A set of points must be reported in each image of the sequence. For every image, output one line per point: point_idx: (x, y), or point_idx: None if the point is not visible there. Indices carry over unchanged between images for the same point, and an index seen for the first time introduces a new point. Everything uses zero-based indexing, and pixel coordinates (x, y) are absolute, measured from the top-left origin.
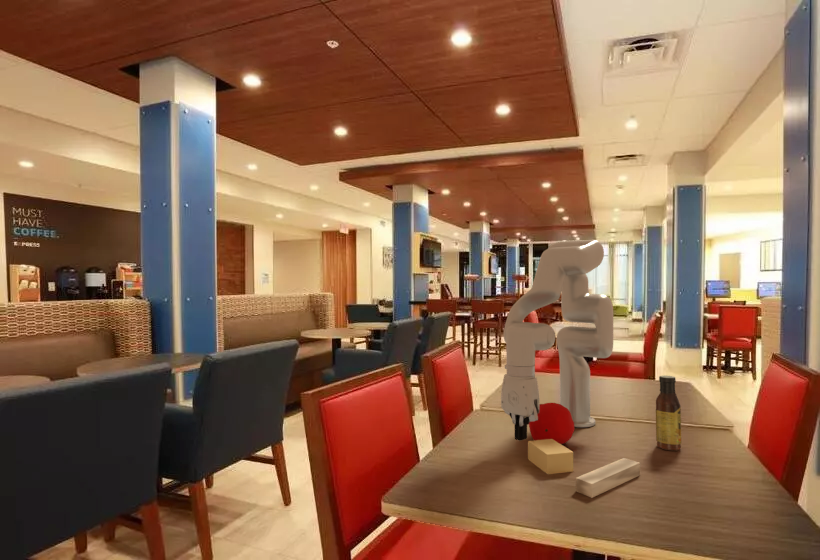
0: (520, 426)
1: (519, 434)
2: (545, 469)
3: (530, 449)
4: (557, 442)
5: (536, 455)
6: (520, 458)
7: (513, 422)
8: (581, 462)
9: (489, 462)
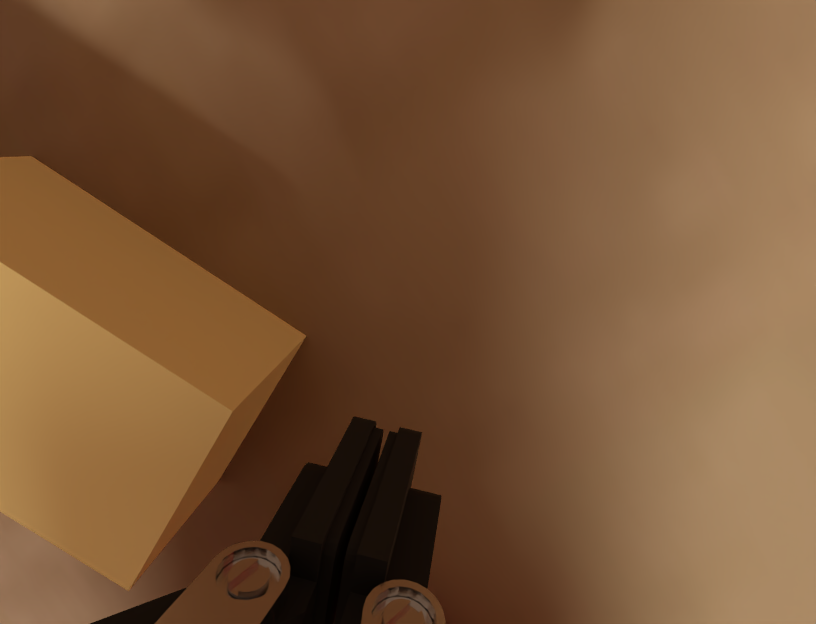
0: (294, 554)
1: (332, 458)
2: (38, 176)
3: (219, 347)
4: (40, 533)
5: (124, 274)
6: (357, 309)
7: (429, 614)
8: None
9: (521, 2)
